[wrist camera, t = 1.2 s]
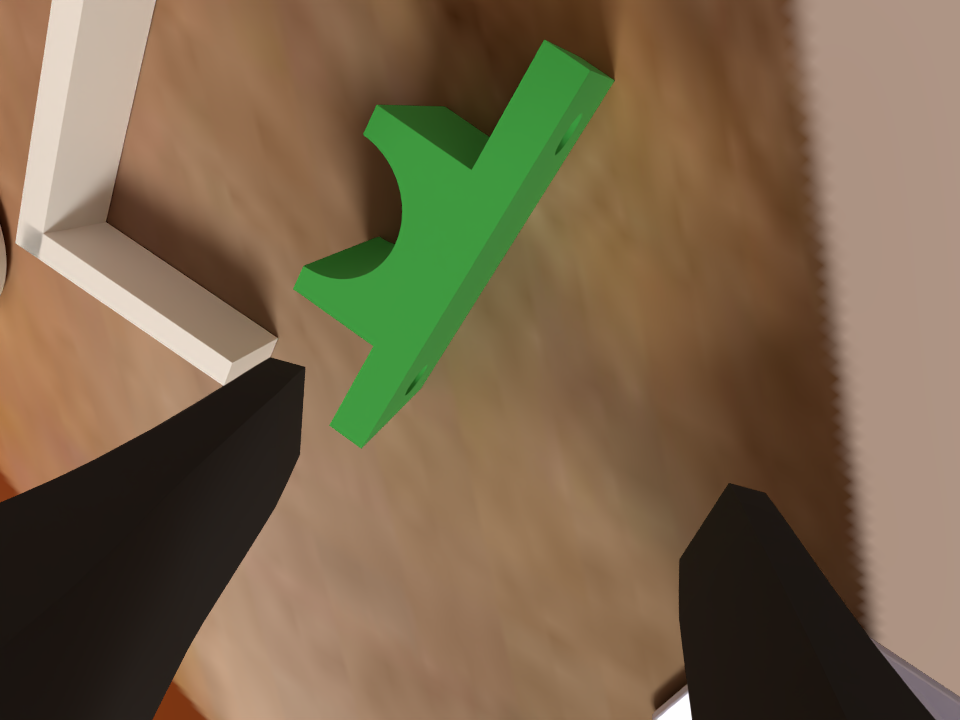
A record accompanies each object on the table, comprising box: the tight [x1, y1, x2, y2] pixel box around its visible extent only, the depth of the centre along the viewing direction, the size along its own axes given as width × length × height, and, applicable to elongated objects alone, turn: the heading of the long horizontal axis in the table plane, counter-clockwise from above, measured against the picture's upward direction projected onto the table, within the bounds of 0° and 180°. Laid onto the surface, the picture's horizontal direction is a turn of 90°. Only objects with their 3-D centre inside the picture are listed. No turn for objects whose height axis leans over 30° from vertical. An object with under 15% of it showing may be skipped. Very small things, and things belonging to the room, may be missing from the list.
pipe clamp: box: [293, 40, 615, 448], centre depth 17 cm, size 11×4×5 cm, turn 149°
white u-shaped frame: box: [15, 0, 278, 386], centre depth 18 cm, size 9×17×2 cm, turn 151°
